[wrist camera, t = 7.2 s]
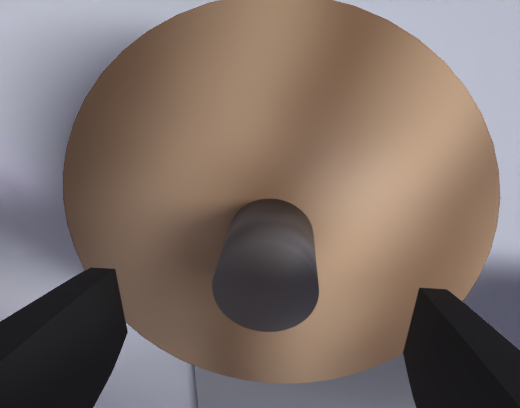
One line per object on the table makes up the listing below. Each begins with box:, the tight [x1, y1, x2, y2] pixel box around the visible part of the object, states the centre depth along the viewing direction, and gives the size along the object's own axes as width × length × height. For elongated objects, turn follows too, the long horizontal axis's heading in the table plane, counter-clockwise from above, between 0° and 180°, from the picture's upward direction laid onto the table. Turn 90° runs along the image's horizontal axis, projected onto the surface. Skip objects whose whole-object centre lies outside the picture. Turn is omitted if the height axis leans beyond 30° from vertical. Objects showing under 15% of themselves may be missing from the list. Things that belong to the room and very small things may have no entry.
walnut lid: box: [63, 0, 500, 384], centre depth 12 cm, size 15×15×4 cm
